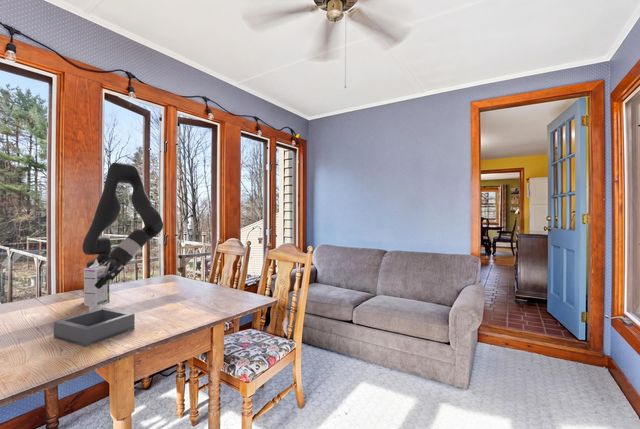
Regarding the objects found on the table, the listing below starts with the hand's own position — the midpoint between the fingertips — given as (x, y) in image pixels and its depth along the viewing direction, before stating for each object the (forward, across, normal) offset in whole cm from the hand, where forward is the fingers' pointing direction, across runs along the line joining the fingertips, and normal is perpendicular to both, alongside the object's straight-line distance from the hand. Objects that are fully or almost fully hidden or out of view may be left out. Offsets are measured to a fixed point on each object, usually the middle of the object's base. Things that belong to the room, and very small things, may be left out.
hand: (92, 285), depth 115 cm
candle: (+6, -23, +21) cm, 31 cm away
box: (+12, 0, +14) cm, 19 cm away
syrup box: (+4, 0, +7) cm, 8 cm away
